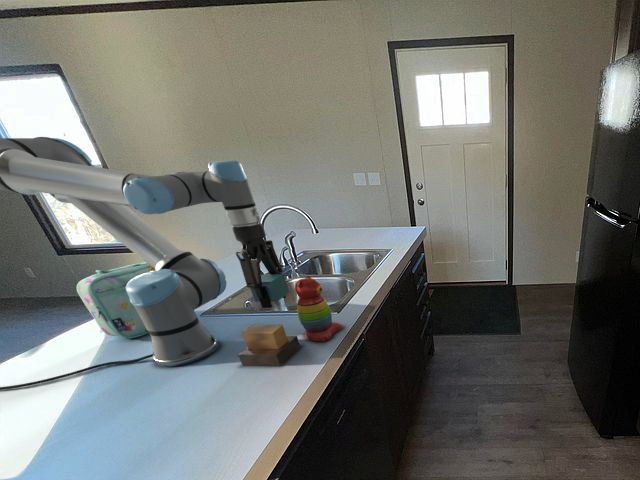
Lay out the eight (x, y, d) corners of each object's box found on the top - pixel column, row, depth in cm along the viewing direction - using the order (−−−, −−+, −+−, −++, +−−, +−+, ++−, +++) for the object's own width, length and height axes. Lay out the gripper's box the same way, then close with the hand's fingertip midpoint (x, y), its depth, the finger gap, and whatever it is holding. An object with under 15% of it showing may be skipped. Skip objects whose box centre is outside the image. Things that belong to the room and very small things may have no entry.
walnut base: (242, 365, 103) (237, 354, 101) (265, 346, 112) (261, 335, 111) (280, 366, 102) (276, 354, 100) (300, 346, 111) (297, 335, 109)
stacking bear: (326, 342, 113) (310, 285, 104) (296, 340, 115) (278, 284, 106) (344, 326, 122) (331, 272, 113) (316, 325, 124) (301, 272, 115)
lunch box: (120, 346, 117) (79, 280, 106) (101, 342, 120) (59, 277, 109) (202, 312, 138) (175, 254, 127) (184, 309, 141) (156, 252, 130)
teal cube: (255, 301, 112) (247, 282, 109) (268, 293, 118) (262, 274, 115) (277, 301, 111) (270, 281, 108) (289, 292, 117) (283, 273, 114)
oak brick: (248, 349, 104) (241, 333, 101) (258, 340, 108) (252, 324, 105) (278, 349, 103) (272, 333, 100) (288, 340, 107) (282, 324, 104)
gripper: (235, 231, 95) (267, 315, 106) (279, 216, 112) (302, 290, 123) (208, 233, 95) (242, 316, 107) (255, 217, 112) (280, 290, 124)
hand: (274, 302), depth 115 cm, fingers closed on teal cube, 7 cm apart
